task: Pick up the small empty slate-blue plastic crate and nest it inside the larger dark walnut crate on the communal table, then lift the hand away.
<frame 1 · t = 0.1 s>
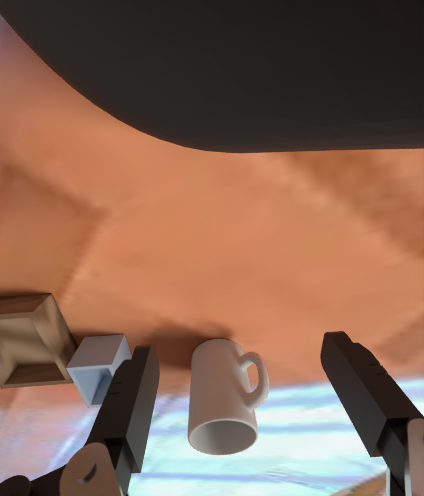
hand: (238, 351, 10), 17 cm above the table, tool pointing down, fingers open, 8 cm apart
mug: (225, 350, 36), on the table
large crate: (33, 333, 32), on the table
small crate: (112, 355, 35), on the table
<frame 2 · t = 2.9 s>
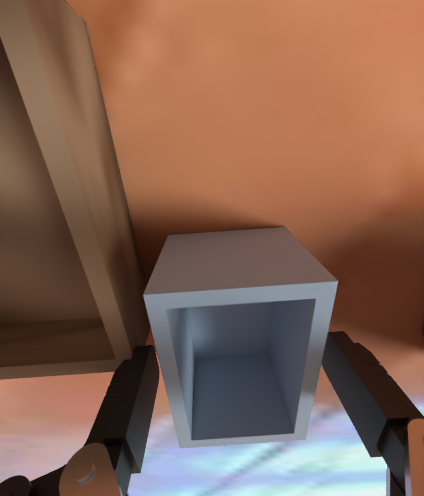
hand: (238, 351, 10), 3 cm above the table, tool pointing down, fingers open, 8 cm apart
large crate: (19, 216, 11), on the table
small crate: (229, 301, 13), on the table
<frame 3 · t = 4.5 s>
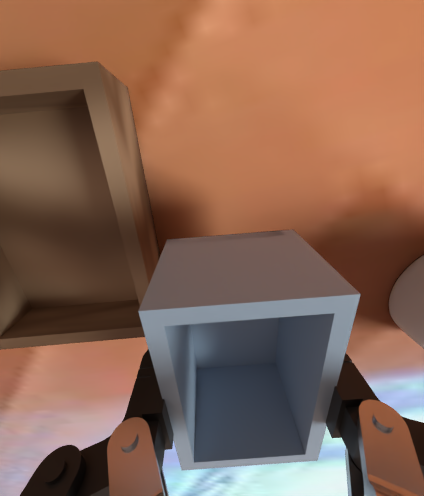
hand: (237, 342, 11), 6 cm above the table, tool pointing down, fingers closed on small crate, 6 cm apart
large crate: (70, 221, 14), on the table
small crate: (233, 309, 12), point 4 cm above the table, touching gripper
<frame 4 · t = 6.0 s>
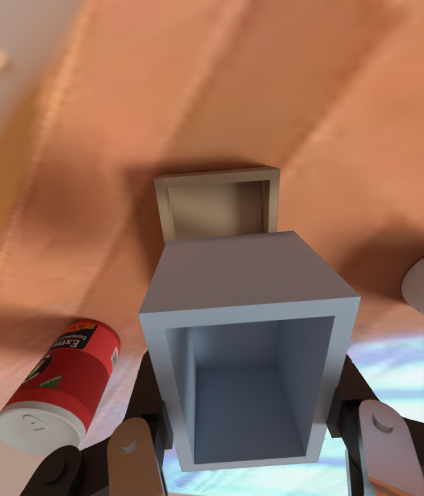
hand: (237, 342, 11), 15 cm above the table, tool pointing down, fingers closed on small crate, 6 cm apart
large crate: (219, 235, 24), on the table
canned food: (94, 339, 30), on the table
small crate: (233, 310, 12), point 13 cm above the table, touching gripper
when the fingers open (5 cm above the table, at t = 8.2 s): small crate drops 3 cm, resting on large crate.
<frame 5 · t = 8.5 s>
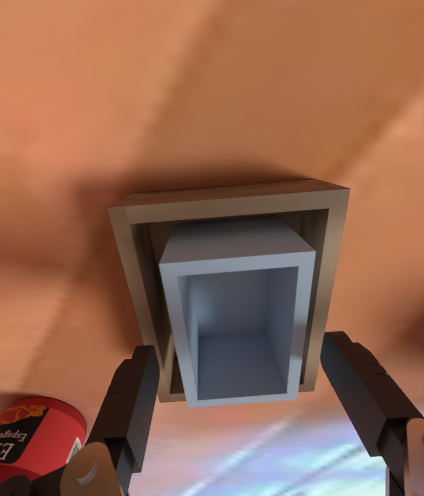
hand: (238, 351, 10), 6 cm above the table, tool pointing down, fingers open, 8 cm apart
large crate: (227, 284, 16), on the table
canned food: (50, 418, 22), on the table
small crate: (229, 283, 15), point 1 cm above the table, touching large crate
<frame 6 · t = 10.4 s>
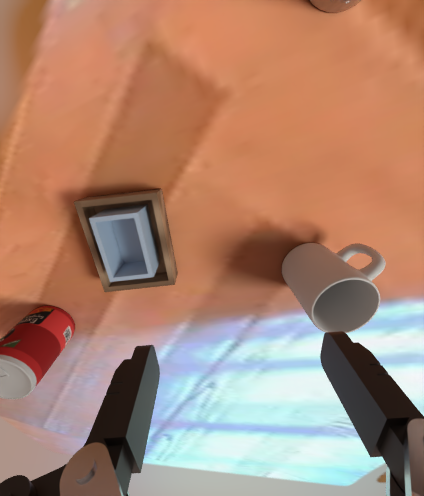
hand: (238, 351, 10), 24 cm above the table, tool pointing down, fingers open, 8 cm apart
mug: (314, 258, 36), on the table
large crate: (135, 238, 34), on the table
canned food: (54, 321, 40), on the table
small crate: (134, 236, 33), point 1 cm above the table, touching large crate
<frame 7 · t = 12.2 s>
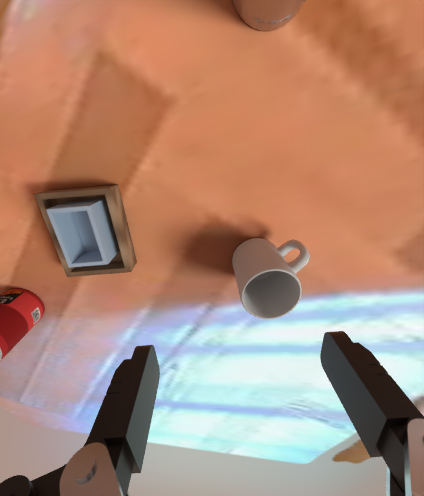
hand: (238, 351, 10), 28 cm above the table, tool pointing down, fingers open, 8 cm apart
mug: (262, 252, 40), on the table
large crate: (96, 228, 37), on the table
canned food: (25, 303, 43), on the table
small crate: (94, 227, 36), point 1 cm above the table, touching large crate
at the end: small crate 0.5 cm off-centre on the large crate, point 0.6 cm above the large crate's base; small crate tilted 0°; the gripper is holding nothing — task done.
